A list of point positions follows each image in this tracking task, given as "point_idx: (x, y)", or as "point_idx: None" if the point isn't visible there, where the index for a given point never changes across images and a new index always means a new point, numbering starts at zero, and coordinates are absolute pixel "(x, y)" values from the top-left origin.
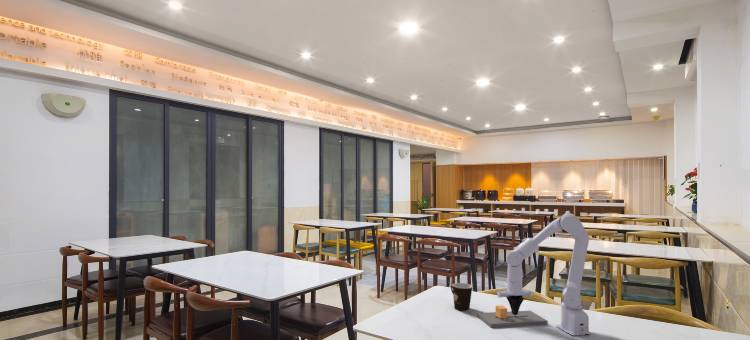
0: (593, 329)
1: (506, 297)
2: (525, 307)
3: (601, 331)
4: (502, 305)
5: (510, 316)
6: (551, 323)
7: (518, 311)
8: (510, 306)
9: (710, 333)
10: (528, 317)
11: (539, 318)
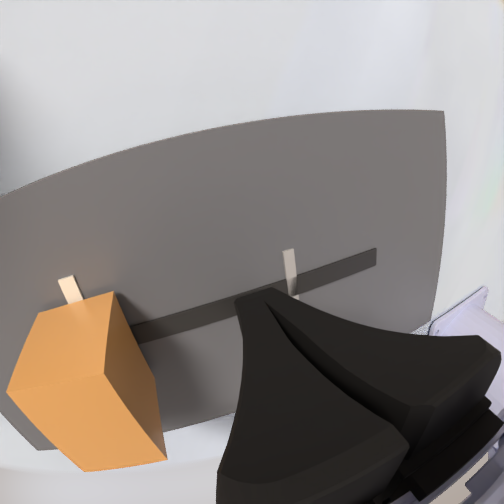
0: (495, 306)
1: (219, 475)
2: None
3: (496, 316)
4: (104, 380)
5: (203, 311)
6: (439, 282)
7: (355, 121)
8: (244, 349)
9: None
10: (365, 290)
11: (418, 291)
